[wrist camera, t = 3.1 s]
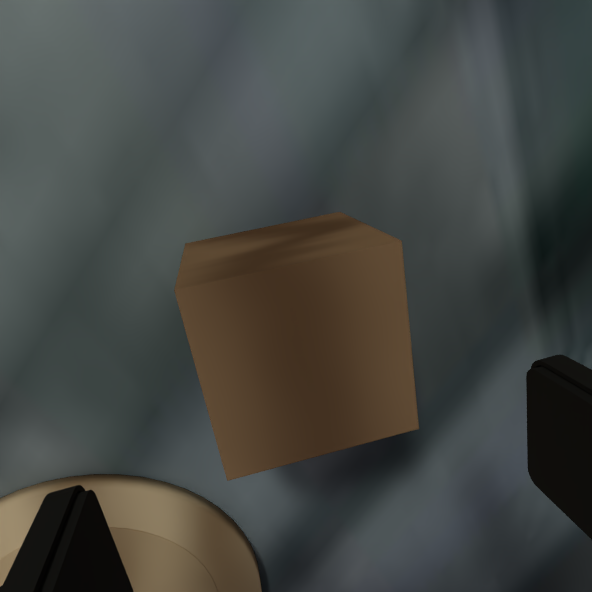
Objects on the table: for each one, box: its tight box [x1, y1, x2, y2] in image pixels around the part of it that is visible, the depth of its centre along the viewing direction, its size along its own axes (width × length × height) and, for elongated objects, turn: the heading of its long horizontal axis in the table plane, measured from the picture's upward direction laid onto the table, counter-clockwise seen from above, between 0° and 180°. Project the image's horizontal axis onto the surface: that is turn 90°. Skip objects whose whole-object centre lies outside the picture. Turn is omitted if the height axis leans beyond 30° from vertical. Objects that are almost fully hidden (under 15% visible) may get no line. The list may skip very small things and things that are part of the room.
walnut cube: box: [174, 212, 419, 481], centre depth 15 cm, size 6×6×6 cm
